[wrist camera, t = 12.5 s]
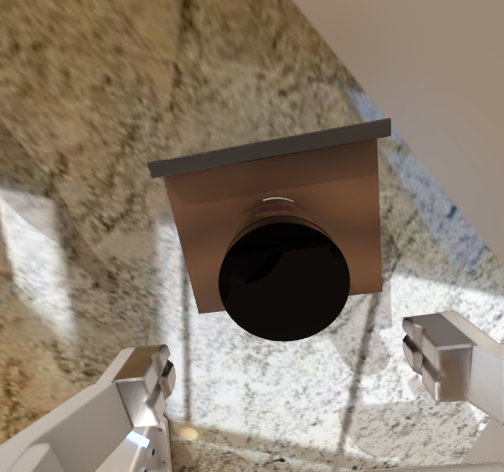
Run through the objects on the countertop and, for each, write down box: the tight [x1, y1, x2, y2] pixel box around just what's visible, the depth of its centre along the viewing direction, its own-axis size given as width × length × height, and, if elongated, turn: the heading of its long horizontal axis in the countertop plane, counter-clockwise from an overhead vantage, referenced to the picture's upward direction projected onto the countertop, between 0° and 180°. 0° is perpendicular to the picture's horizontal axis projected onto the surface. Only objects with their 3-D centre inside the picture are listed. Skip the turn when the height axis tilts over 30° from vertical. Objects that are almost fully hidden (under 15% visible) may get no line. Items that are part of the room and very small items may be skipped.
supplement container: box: [218, 196, 350, 342], centre depth 18 cm, size 7×7×10 cm
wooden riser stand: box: [148, 118, 391, 314], centre depth 27 cm, size 15×18×13 cm
